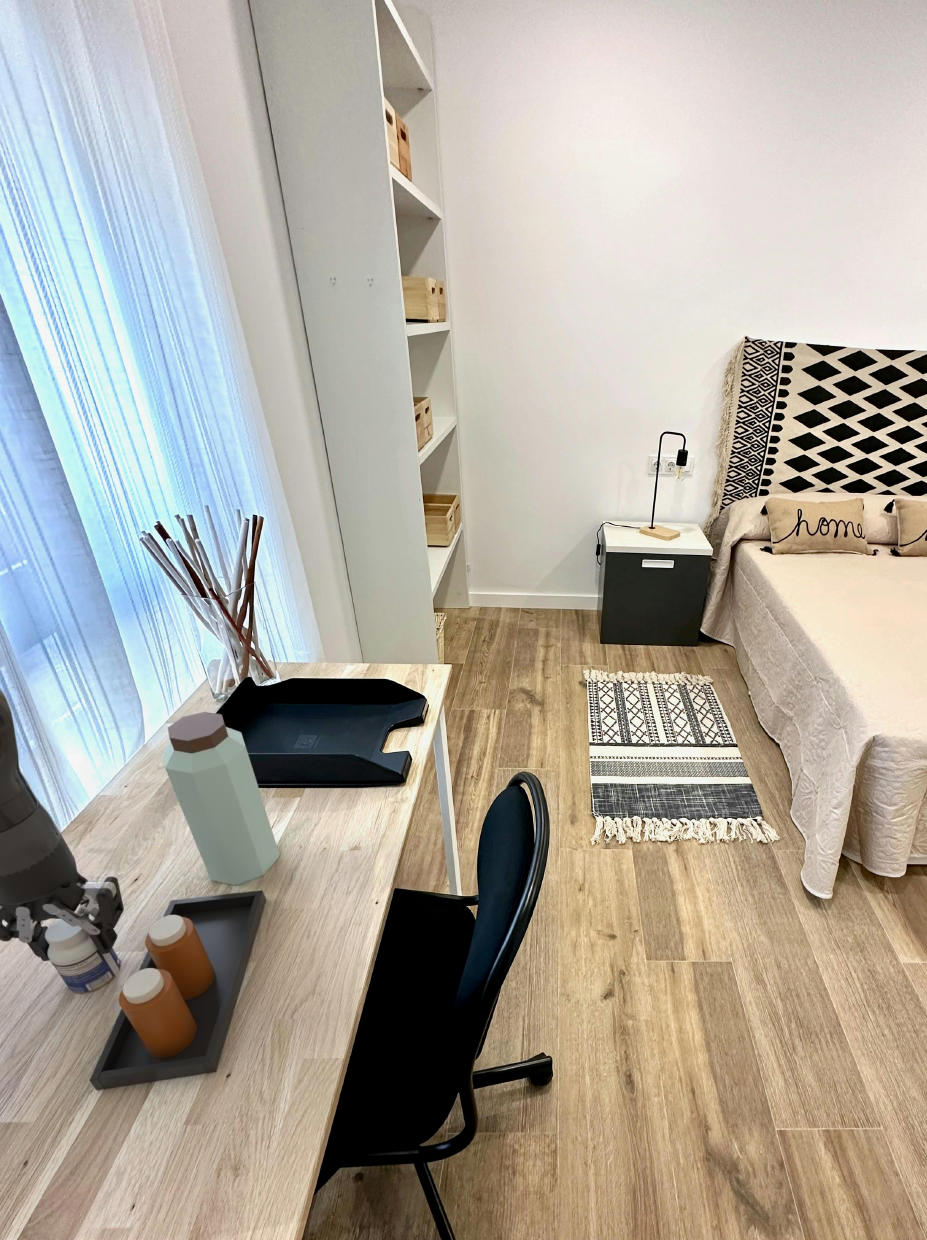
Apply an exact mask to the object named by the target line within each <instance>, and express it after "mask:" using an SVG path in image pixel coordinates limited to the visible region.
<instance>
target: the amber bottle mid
mask: <svg viewBox="0 0 927 1240" xmlns="http://www.w3.org/2000/svg"><path fill="white" fill-rule="evenodd" d="M144 943H145V944H144V946H145V947H146V950H147V952H148V951H149V953H150V955H151V957H152V959H153V961H154V963H155V964H156V966H157V968H158V969H162V970H165V971H167V972H169V973H170V975H171V977H172V978H173V980H174V982H175V984H176V986H177V988H178V990H179V992H180V994H181V996H182V998H183V999H184V1000H187V999H192V998H195V997H197V996H199V995H201V994H202V993H204V992H205V991H206V990H207V989H208V988H209V987H210V986H211V984H212V983H213V981H214V978H215V971H214V968H213V966H212V964H211V962H210V960H209V957H208V955H207V953H206V951H205V949H204V947H203V944H202V942H201V940H200V938H199V936H198V933H197V931H196V929H195V927H194V925H193V923H192V921H191V920H190V919H188V918H185V917H180V916H178V915H169V916H165V917H163V916H162V917H161V918H159V919H157V920H156V921H154V923H152V924H151V926H150V927H149V929H148V933H147V935H146V936H145V941H144Z"/></svg>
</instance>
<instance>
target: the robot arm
mask: <svg viewBox="0 0 927 1240" xmlns="http://www.w3.org/2000/svg"><path fill="white" fill-rule="evenodd" d="M14 723H15V722H14V718H13V713H12V709H11V705H10V703H9V701H8V699H7V697H6V695H5V693H4V691H3V690H2V688H1V687H0V941H1V942H10V941H12V939H18V941H19V942H21V943H24V944H27V945H28V947H29V948H30V949H31V951H32V952H33V954H34V955H35V956H36V957H38V958H40V960H41V961H42V962H47V961H48V962H49V961H50V960H49V957H48V953H47V952H48V948H49V943H48V942H47V940H46V938H45V933H46V930H47V929H48V927H49V926H47V925H43V924H44V921H47V920H50V919H51V920H58V919H62V920H63V921H65V922H66V923H68V924H69V925H71V926H72V927H75V926H80V927H81V928H82V929H84V930H85V931H87V932H88V933H90V935H89V936H90V938H91V939H92V941H93V943H94V944H95V946H96V948H97V949H98V951H99V953H100V954H106V953H109V952H110V950H111V948H113V947H114V946H115V944H116V941H117V939H118V934H117V932H116V930H115V928H116V926H117V924H118V923H119V921H120V918H121V916H122V915H123V912H124V910H125V908H124V903H123V898H122V893H121V888H120V883H119V880H118V878H117V877H115V876H107V877H105V880H104V881H103V882H101V881H100V882H99V881H98V882H97V881H92V882H91V881H89V880H88V879H87V878H86V877H84V876H83V875H82V874H80V873H79V871H78V867H77V862H76V861H77V860H76V858H75V856H74V855H73V852H72V851H71V849H70V847H69V846H68V844H67V842H66V840H65V838H64V837H63V835H62V833H61V832H60V829H59V828H58V826H57V824H56V822H55V820H54V819H53V817H52V815H51V814H50V812H49V811H48V810H47V808H46V807H45V806H44V805H43V804H42V803H41V801H40V800H39V799H38V796H37V795H36V793H35V792H34V790H33V788H32V786H31V784H30V782H29V781H28V779H27V778H26V776H25V774H24V773H23V771H22V769H21V765H20V754H19V753H20V752H19V747H18V741H17V735H16V730H15V729H16V728H15V724H14ZM90 916H91V917H93V920H92V919H91V918H90ZM3 921H4V922H5V923H6V925H4V924H3ZM113 949H114V948H113ZM50 962H51V961H50Z"/></svg>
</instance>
